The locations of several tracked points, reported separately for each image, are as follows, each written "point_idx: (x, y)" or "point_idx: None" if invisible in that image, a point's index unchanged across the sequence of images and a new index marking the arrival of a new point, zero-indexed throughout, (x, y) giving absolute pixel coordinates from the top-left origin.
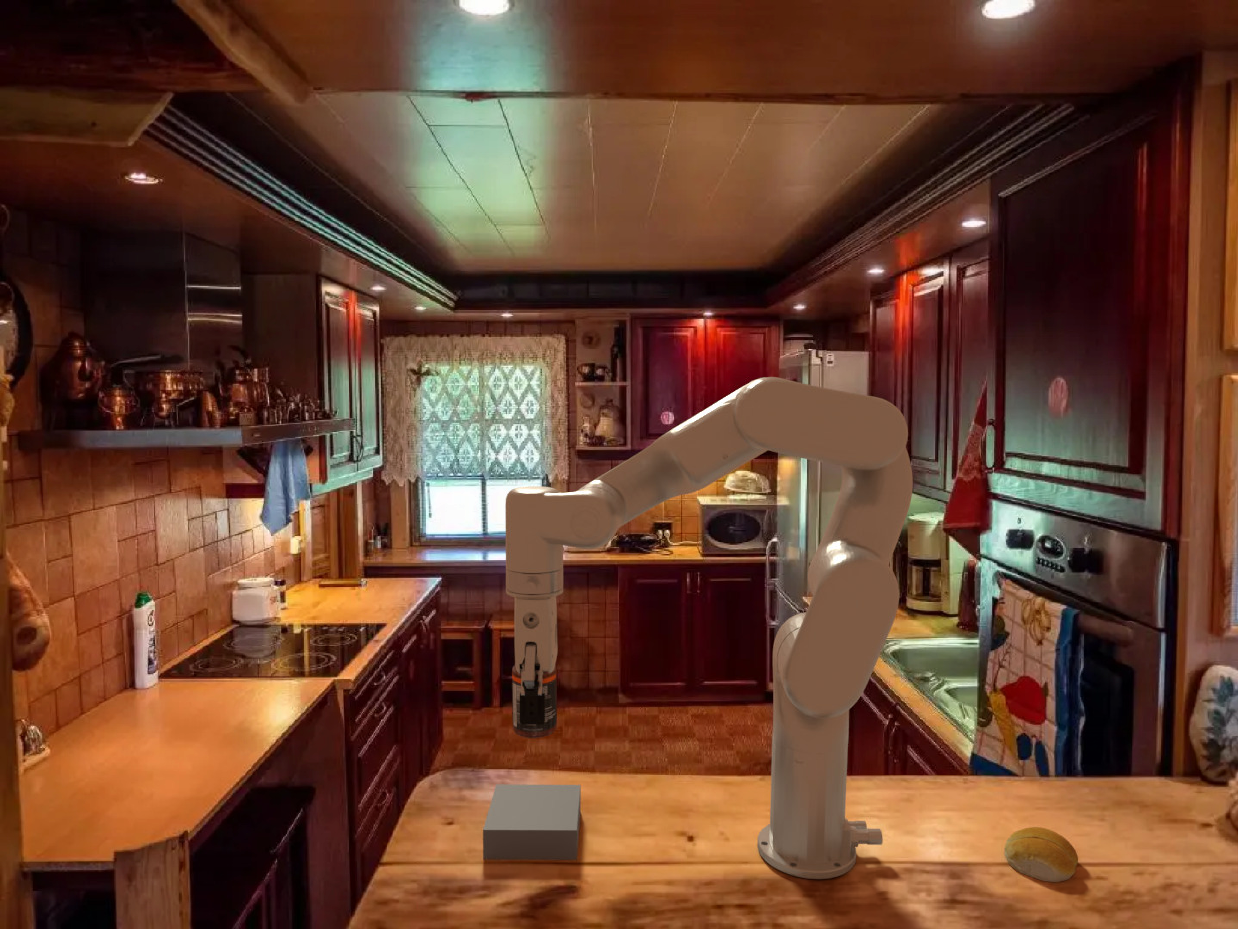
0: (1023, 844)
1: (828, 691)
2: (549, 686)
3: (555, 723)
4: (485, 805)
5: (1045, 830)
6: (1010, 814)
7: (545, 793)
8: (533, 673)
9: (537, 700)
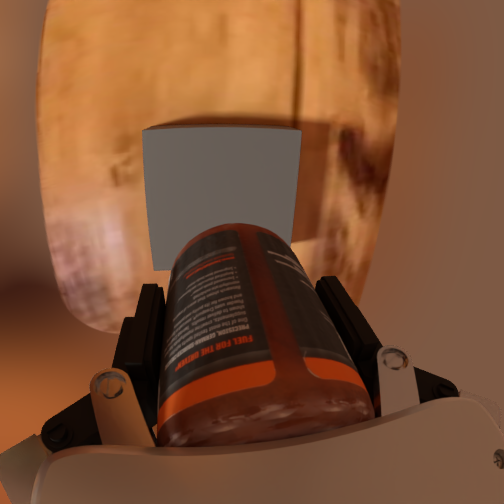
0: None
1: None
2: (343, 350)
3: (263, 234)
4: (145, 265)
5: None
6: None
7: (177, 189)
8: (499, 421)
9: (382, 346)
